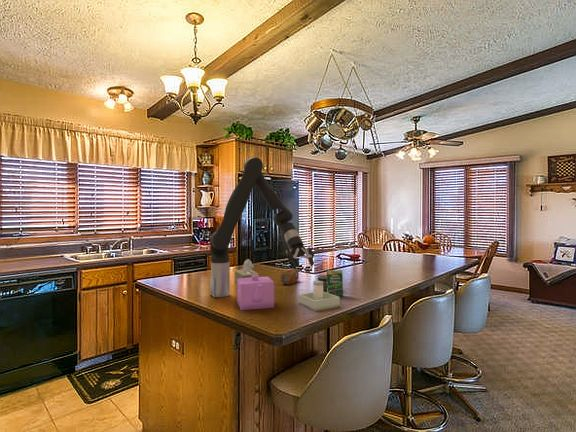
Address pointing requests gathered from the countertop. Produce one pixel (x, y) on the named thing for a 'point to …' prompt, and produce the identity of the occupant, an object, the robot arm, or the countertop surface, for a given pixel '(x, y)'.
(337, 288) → the coffee box
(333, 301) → the bin
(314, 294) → the salt shaker
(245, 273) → the tissue box
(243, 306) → the pink storage box
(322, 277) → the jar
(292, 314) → the countertop surface
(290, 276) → the tin
